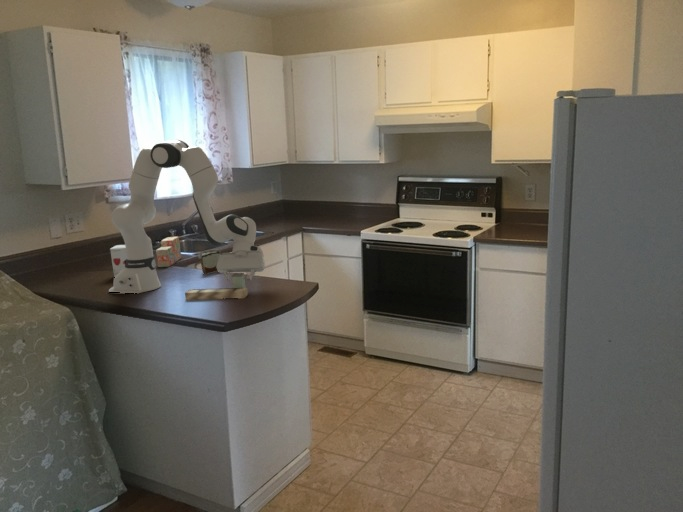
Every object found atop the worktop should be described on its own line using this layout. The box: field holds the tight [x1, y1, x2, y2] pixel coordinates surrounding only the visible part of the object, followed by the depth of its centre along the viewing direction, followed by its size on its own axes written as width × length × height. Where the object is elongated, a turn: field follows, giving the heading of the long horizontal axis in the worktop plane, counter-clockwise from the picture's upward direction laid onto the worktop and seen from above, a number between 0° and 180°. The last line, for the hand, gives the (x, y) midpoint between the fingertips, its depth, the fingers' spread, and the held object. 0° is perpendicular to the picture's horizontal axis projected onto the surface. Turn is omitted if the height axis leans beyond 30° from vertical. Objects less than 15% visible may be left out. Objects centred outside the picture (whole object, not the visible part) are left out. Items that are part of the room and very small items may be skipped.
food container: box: [197, 249, 222, 275], centre depth 294 cm, size 12×6×10 cm, turn 141°
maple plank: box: [184, 287, 249, 301], centre depth 248 cm, size 25×5×3 cm, turn 82°
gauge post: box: [231, 272, 246, 288], centre depth 252 cm, size 4×4×8 cm
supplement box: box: [109, 244, 127, 278], centre depth 297 cm, size 9×9×15 cm
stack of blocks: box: [155, 236, 183, 268], centre depth 322 cm, size 21×6×12 cm, turn 178°
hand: (238, 280), depth 251 cm, fingers open, 8 cm apart
